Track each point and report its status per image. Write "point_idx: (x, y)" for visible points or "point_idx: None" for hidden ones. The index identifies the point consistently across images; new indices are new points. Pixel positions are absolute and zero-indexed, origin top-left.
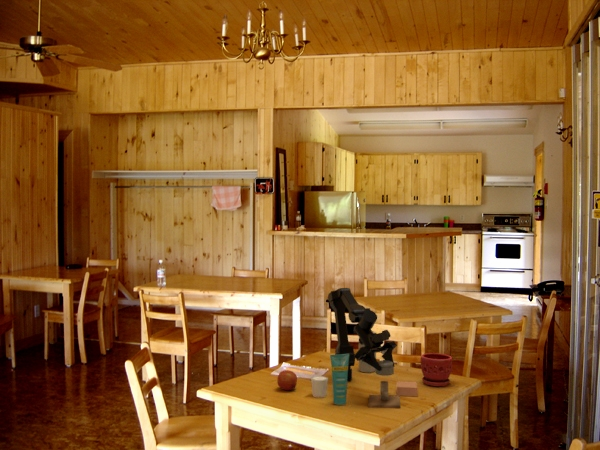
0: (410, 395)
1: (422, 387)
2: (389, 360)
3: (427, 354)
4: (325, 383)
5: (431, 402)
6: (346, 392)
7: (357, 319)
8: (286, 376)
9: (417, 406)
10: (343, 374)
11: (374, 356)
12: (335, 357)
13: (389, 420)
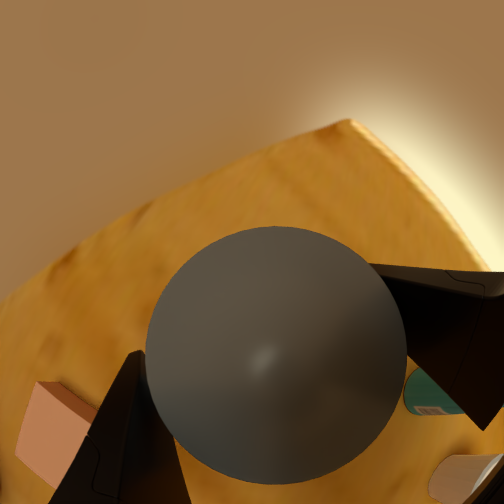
0: (80, 400)
1: (9, 459)
2: (154, 444)
3: None
4: (475, 467)
5: (51, 288)
6: (432, 384)
7: None
8: None
9: (123, 265)
10: None
11: (501, 291)
12: None
13: (300, 174)
